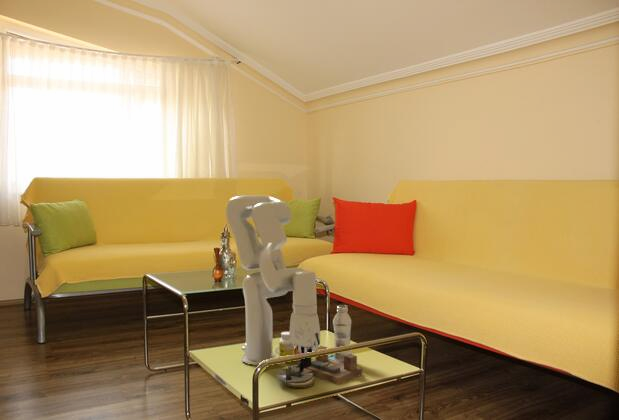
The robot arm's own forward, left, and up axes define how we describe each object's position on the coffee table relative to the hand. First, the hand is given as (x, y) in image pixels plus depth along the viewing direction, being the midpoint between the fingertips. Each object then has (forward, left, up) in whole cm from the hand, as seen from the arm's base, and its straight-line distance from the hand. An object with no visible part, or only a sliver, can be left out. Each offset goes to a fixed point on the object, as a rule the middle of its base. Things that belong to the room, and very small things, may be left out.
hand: (306, 366), depth 170 cm
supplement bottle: (-20, +10, -5) cm, 23 cm away
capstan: (-1, -4, -5) cm, 6 cm away
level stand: (0, +11, -5) cm, 12 cm away
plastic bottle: (-4, +22, -5) cm, 23 cm away
